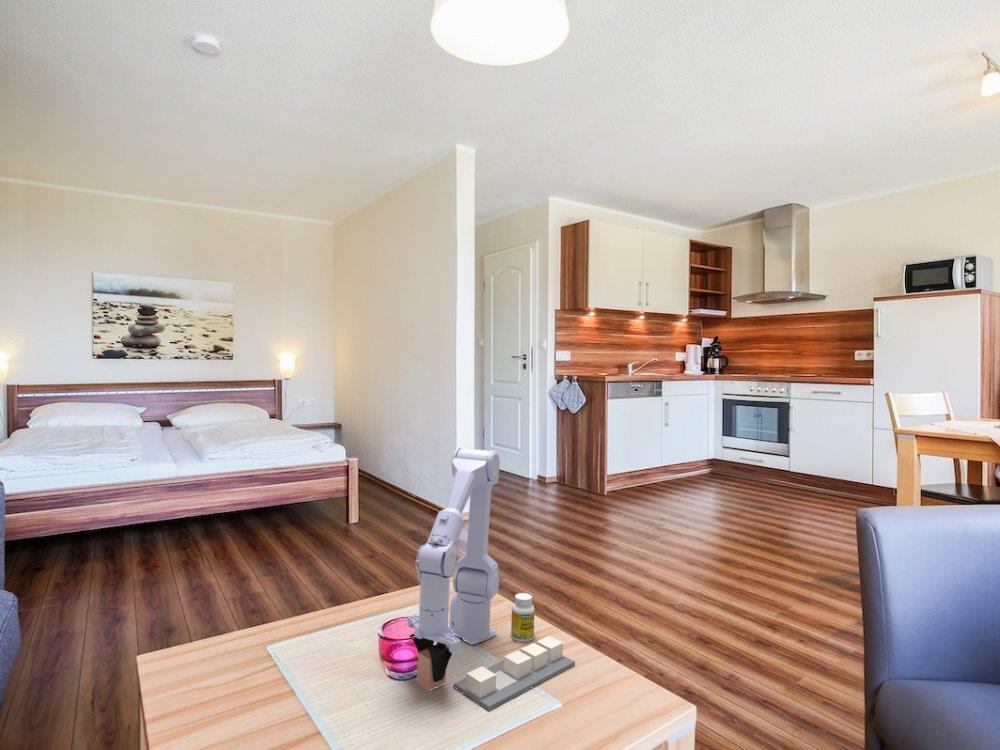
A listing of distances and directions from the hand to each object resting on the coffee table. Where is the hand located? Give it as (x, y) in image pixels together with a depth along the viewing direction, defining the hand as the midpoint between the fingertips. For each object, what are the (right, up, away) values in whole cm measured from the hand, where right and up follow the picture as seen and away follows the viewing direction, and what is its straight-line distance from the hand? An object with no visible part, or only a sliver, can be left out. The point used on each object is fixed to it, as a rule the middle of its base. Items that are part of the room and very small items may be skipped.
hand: (431, 674), depth 109 cm
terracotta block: (0, -2, 0) cm, 2 cm away
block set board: (+17, -2, +4) cm, 18 cm away
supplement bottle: (+19, -3, +21) cm, 28 cm away
